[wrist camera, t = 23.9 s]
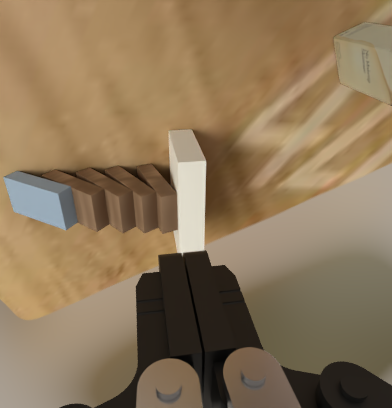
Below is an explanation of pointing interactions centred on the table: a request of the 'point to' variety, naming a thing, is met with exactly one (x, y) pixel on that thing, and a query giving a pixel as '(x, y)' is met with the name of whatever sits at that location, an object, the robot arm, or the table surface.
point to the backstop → (188, 189)
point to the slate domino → (41, 199)
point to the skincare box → (366, 60)
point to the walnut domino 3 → (138, 198)
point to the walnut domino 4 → (161, 197)
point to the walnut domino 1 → (84, 200)
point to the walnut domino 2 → (113, 199)
